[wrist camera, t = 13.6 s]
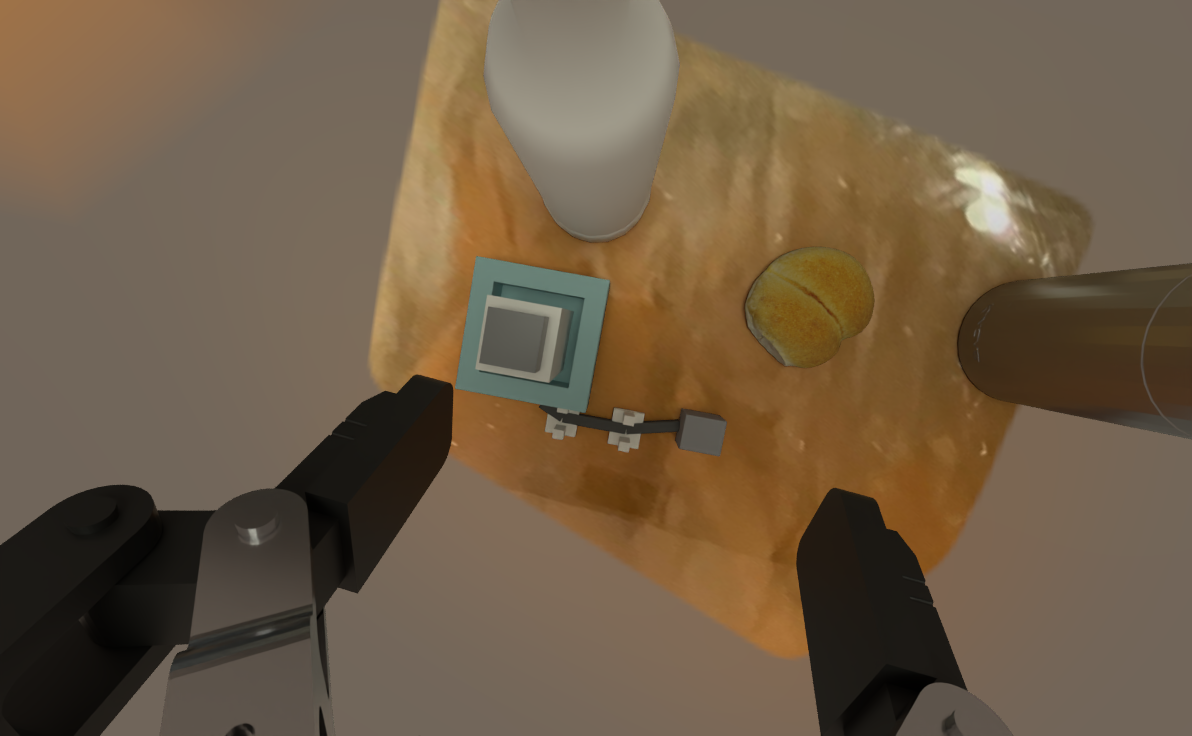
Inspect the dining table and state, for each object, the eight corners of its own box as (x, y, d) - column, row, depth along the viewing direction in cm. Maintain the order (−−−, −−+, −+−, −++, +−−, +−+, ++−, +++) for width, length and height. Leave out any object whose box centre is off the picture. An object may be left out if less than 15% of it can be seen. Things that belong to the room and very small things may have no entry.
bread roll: (883, 303, 41) (913, 302, 37) (794, 382, 41) (813, 389, 37) (812, 223, 40) (834, 212, 36) (723, 304, 41) (734, 302, 37)
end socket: (610, 284, 41) (609, 280, 37) (588, 404, 42) (585, 413, 38) (489, 262, 41) (476, 256, 37) (470, 382, 42) (455, 388, 38)
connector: (573, 311, 40) (558, 307, 29) (563, 369, 41) (544, 386, 30) (515, 300, 40) (478, 292, 29) (505, 359, 41) (465, 372, 30)
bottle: (669, 208, 40) (823, -119, 10) (581, 264, 41) (492, 106, 11) (613, 116, 40) (607, -496, 10) (525, 174, 41) (275, -240, 11)
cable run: (719, 415, 42) (726, 421, 39) (710, 460, 42) (716, 470, 39) (544, 382, 42) (539, 386, 39) (536, 428, 42) (530, 435, 39)
